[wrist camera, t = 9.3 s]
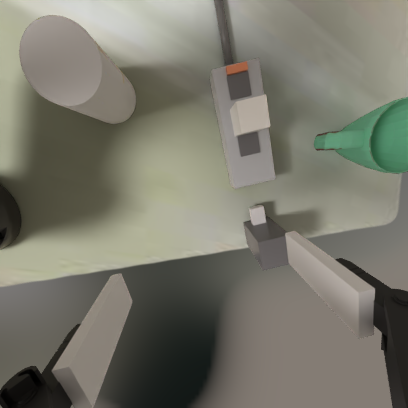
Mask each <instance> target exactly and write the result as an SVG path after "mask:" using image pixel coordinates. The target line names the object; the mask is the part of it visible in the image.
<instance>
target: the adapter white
mask: <svg viewBox="0 0 408 408" xmlns="http://www.w3.org/2000/svg"><path fill="white" fill-rule="evenodd" d="M230 114H231V119H232V125H233V130H234V136H235V137H236V136H240V135H244V134H249V133H253V132H257V131H260V130H263V129H266V128H268V127H271V126H270V119H269V111H268V104H267V97H266V94H265V95H261V96H257V97H253V98H249V99H245V100H241V101H237V102H235V104H234V105H233V106H232V108H231V109H230Z"/></svg>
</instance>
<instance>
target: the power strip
mask: <svg viewBox="0 0 408 408" xmlns="http://www.w3.org/2000/svg"><path fill="white" fill-rule="evenodd" d="M214 2H215V8H216V14H217V19H218V25H219V31H220V36H221V42H222V47H223V53H224V59H225V64H226V66H223V67H219V68H215V69H212V71H211V76H210V84H211V89H212V94H213V99H214V104H215V109H216V114H217V119H218V124H219V129H220V134H221V139H222V144H223V149H224V154H225V159H226V164H227V169H228V174H229V179H230V184H231V186H232V187H233V188H235V189H236V188H241V187H245V186H249V185H253V184H257V183H261V182H266V181H270V180H274V179H276V178H275V171H274V164H273V156H272V149H271V142H270V134H269V127H268V128H266V129H263V130H260V131H257V132H253V133H249V134H244V135H240V136H236V137H235V136H234V130H233V125H232V119H231V114H230V109H231V108H232V106H233V105H234V104H235V102H237V101H241V100H245V99H249V98H253V97H257V96H261V95H264V91H263V83H262V76H261V69H260V61H259V58H255V59H251V60H247V61H243V62H239V63H235V64H233V59H232V53H231V47H230V41H229V36H228V30H227V24H226V18H225V12H224V6H223V0H214Z"/></svg>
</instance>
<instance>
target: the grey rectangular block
mask: <svg viewBox="0 0 408 408" xmlns="http://www.w3.org/2000/svg"><path fill="white" fill-rule="evenodd" d="M249 212H250V218H251V221H247V222H243V223H244V228H245V234H246V239H247V244H248V246H249V248H250V250H251V251H252V253H253V254H254V256H255V258H256V260H257V261H258V263H259V264H260V266H261V268H262V270H267V269H271V268H275V267H279V266H283V265H288V264H289V262H288V253H287V244H286V236H285V233H287V232H286V231H285V230H283V229H282V228H281V227H280V226H279V225H277V224H276V223H275V222H274V221H273V220H271V219H270V218H269V217H265V211H264V206H263V205H257V206H252V207H249Z"/></svg>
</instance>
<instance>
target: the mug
mask: <svg viewBox="0 0 408 408" xmlns="http://www.w3.org/2000/svg"><path fill="white" fill-rule="evenodd" d="M314 146H315V149H316V150H336V151H337V152H338V153H339V154H340V155H342V156H343V157H345V158H346V159H348V160H351V161H353V162H355V163H357V164H359V165H362V166H364V167H367V168H370V169H373V170H377V171H380V172H385V173H396V174H399V173H403V172H408V97H406V98H402V99H398V100H395V101H392V102H390V103H388V104H386V105H384V106H382V107H380V108H377V109H375V110H374V111H372V112H370V113H368V114H366V115H364V116H363V117H361V118H359V119H358V120H356V121H354V122H353V123H351V124H350V125H348V126H347V127H345V128H344V129H343V130H342V131H338V132H327V133H323V134H319V135H317V136H316V138H315V141H314Z"/></svg>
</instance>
